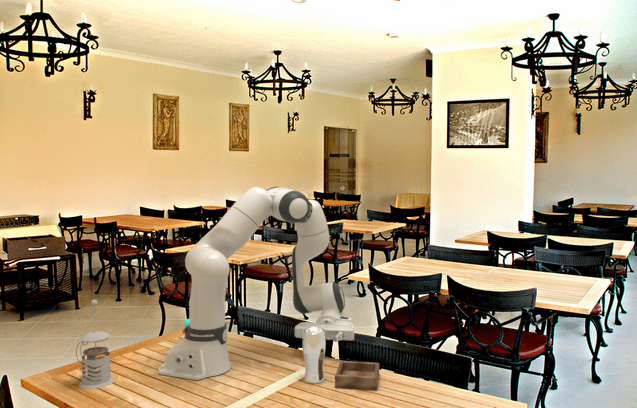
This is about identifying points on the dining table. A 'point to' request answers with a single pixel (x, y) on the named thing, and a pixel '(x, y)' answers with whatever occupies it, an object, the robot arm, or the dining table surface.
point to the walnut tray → (357, 375)
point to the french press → (95, 360)
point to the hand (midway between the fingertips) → (321, 338)
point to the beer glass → (314, 354)
